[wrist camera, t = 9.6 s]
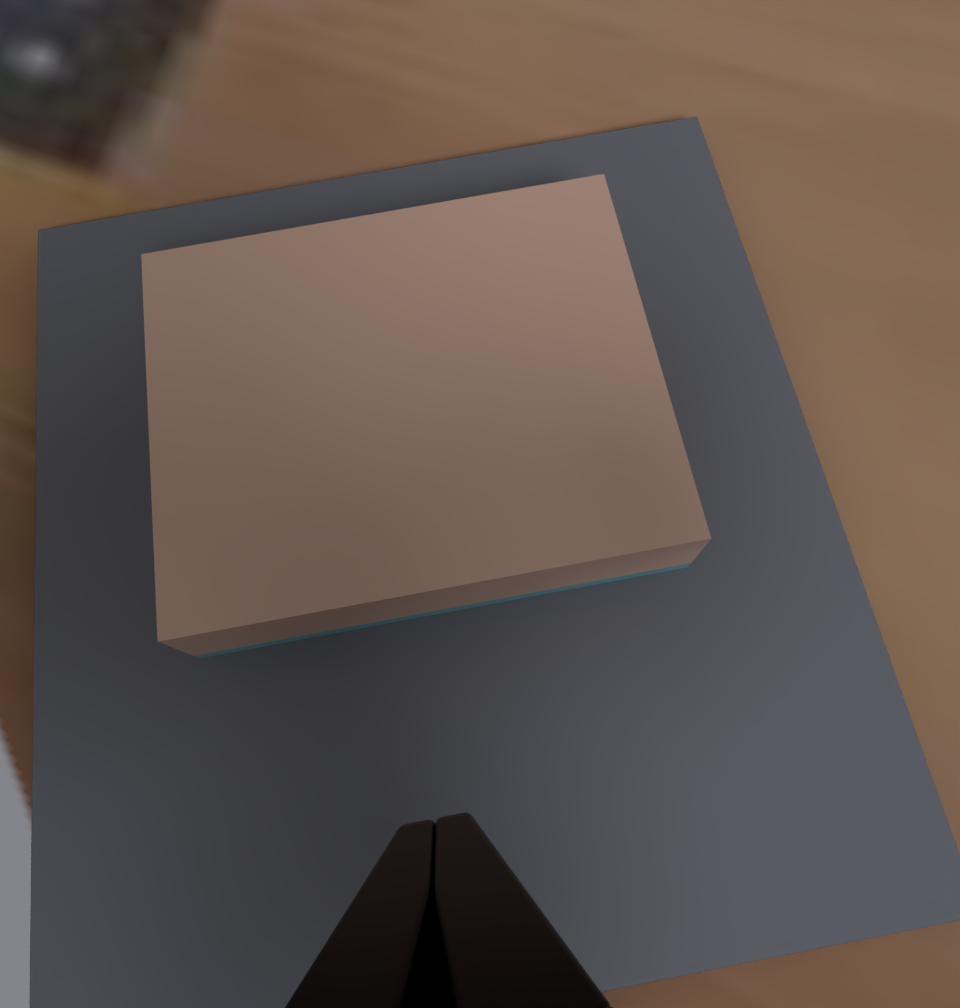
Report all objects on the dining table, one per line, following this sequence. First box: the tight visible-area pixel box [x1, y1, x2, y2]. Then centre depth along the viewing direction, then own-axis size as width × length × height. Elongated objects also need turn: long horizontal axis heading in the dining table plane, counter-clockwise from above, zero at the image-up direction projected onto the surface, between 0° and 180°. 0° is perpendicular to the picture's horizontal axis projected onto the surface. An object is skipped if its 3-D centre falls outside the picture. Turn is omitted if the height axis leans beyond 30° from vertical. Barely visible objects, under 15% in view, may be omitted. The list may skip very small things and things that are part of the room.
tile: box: [141, 174, 711, 658], centre depth 20 cm, size 2×12×10 cm
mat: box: [30, 117, 960, 1008], centre depth 20 cm, size 22×20×1 cm
